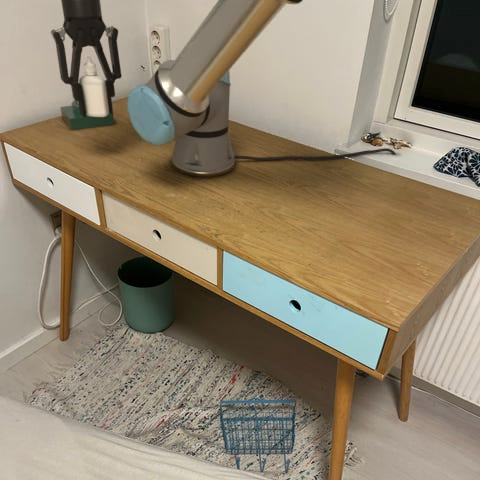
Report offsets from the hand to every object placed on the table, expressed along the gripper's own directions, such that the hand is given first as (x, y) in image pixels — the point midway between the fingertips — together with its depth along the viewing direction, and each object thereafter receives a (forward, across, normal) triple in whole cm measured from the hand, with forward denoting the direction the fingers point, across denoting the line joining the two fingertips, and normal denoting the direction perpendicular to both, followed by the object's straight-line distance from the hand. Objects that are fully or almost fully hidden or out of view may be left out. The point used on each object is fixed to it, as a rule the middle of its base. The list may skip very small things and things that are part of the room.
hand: (96, 113), depth 115 cm
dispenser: (+11, -4, -27) cm, 30 cm away
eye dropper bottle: (0, 0, 0) cm, 0 cm away
